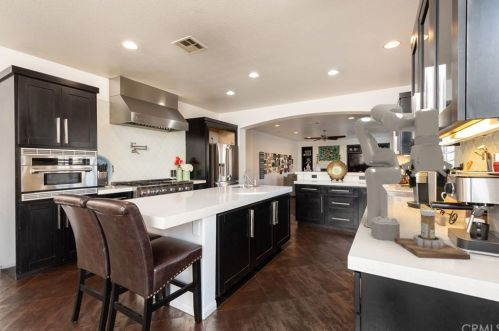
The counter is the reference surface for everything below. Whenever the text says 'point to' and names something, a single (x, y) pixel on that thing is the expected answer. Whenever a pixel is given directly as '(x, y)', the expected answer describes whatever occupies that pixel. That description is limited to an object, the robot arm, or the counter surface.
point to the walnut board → (431, 250)
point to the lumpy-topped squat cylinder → (385, 228)
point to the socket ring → (428, 242)
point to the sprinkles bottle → (427, 224)
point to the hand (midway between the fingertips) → (426, 186)
